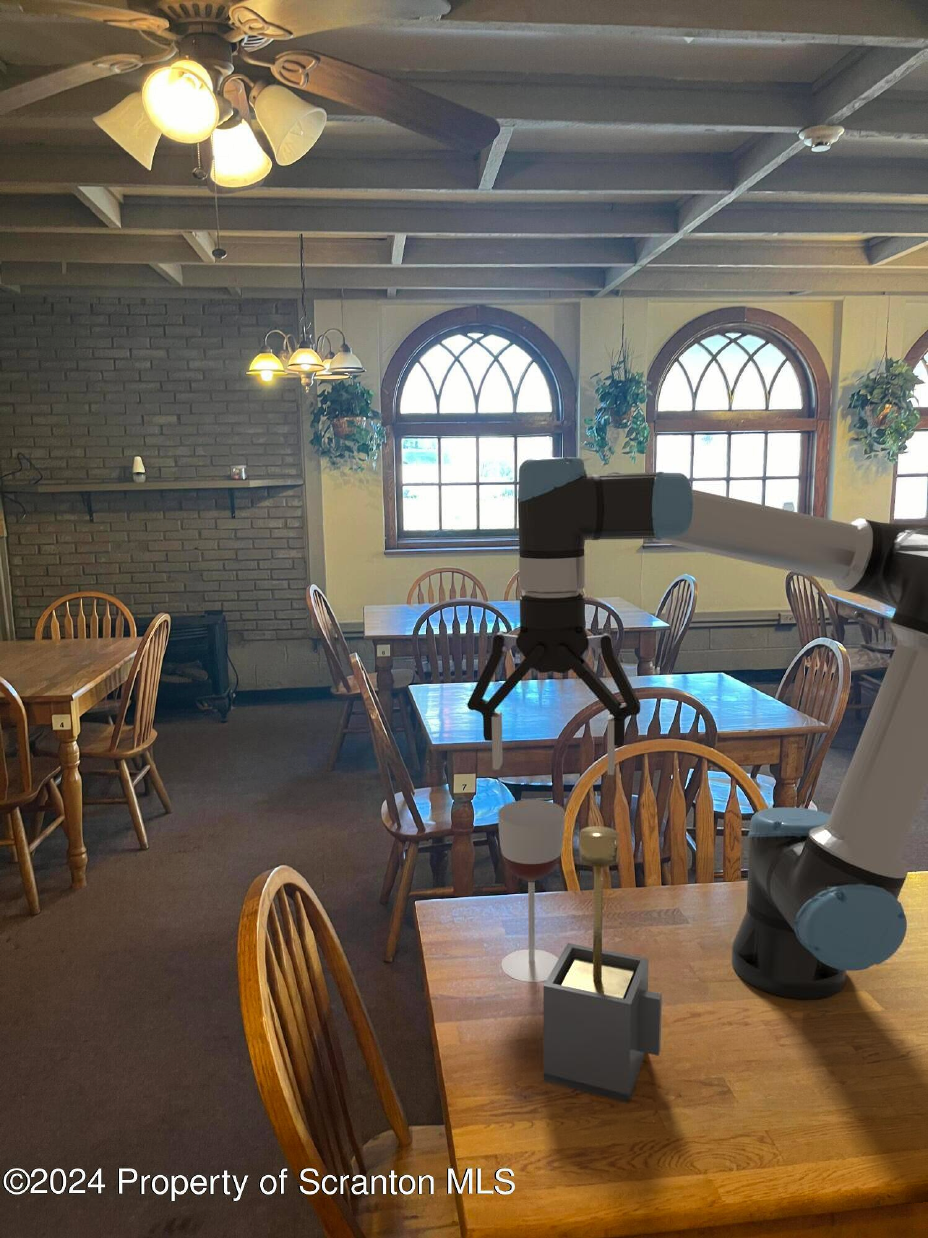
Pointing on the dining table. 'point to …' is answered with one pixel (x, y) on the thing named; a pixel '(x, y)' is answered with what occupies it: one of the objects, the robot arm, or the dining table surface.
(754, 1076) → the dining table surface
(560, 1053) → the press pot
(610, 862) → the plunger
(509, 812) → the wineglass
